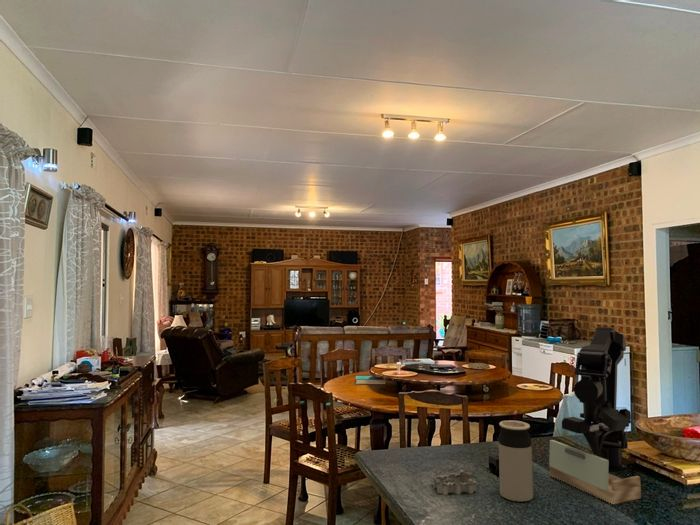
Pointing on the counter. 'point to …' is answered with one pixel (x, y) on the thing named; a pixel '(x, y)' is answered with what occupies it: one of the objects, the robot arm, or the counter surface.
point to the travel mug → (515, 461)
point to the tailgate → (579, 464)
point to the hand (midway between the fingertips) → (596, 454)
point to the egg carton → (454, 483)
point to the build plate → (493, 464)
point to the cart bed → (616, 491)
